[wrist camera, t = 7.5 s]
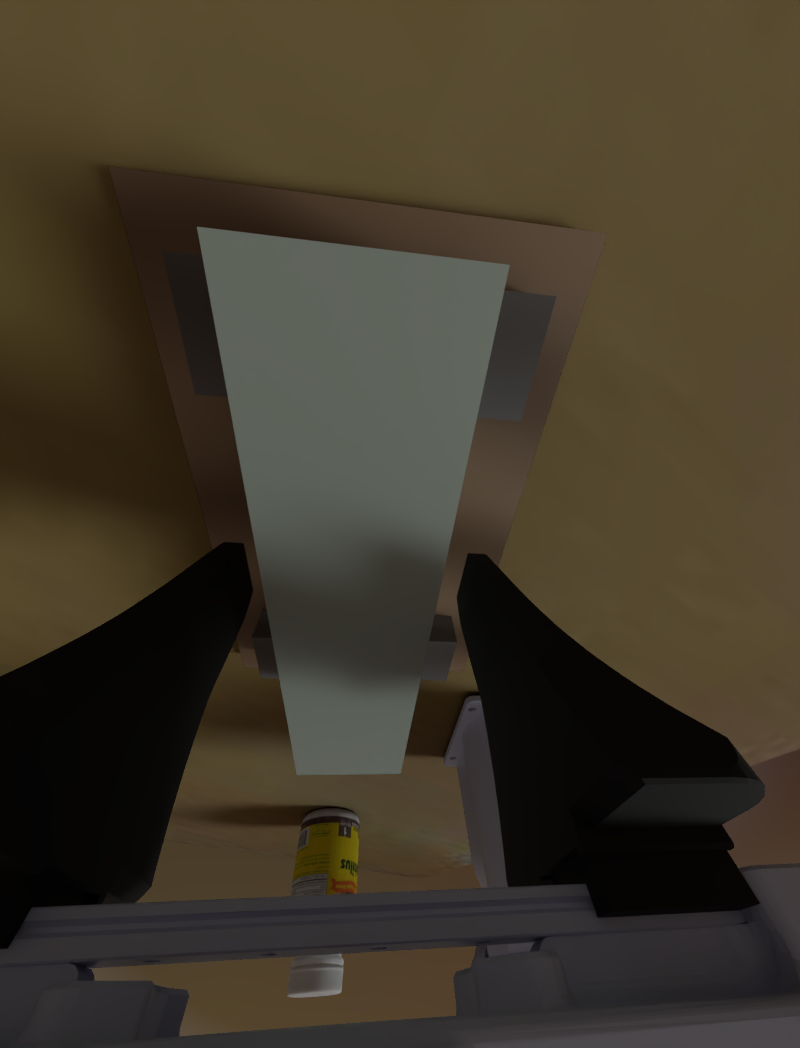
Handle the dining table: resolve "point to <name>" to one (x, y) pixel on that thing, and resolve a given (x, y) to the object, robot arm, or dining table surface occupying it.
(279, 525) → the block
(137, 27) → the dining table surface
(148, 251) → the cradle board
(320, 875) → the supplement bottle
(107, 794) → the robot arm
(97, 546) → the dining table surface
